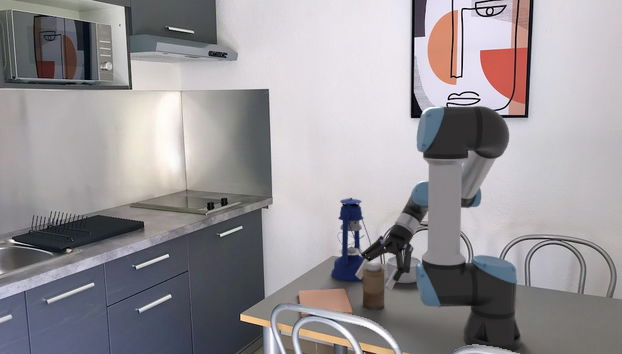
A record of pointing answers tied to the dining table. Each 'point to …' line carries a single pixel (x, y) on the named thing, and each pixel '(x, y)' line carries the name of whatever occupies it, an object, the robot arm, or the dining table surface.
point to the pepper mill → (373, 286)
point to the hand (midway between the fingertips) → (372, 282)
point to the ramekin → (404, 277)
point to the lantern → (350, 256)
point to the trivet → (326, 300)
